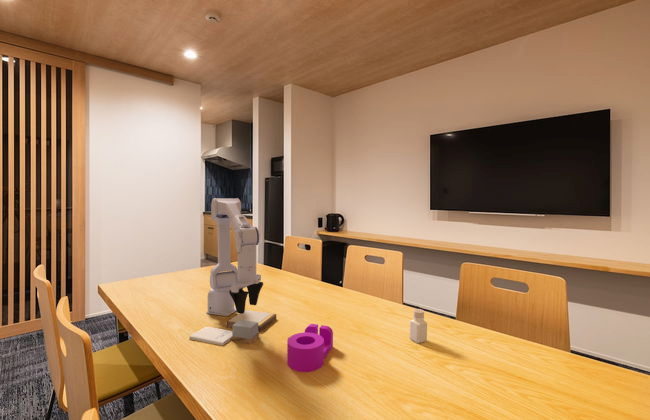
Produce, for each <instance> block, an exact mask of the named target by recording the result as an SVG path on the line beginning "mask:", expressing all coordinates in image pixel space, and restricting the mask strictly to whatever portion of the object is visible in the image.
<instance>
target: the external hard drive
mask: <svg viewBox="0 0 650 420" xmlns="http://www.w3.org/2000/svg"><path fill="white" fill-rule="evenodd" d="M189 340H191V341H197V342H203V343H206V344H212V345H218V346H222V347H223V346H224V345H226V344H228V343H229V342H230V341H232V330H228V329H222V328H216V327H211V326H205V327H202V328H201V329H199V330H198V331H196V332H194V333H192V334H190V335H189Z"/></svg>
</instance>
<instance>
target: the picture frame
mask: <svg viewBox="0 0 650 420" xmlns="http://www.w3.org/2000/svg"><path fill="white" fill-rule="evenodd" d="M276 319H277V314H276V313H270V312H264V311H256V310H250V309H245V311H244V313H243V314H241V313H237V315H235V316H233V317H232V318H230V319H229V320H227V321H226V324H225V326H226V328H232V325H234V324H235V323H236V322H238V321H239V320H246V321H253V322H258V333H261V332H262V331H263V330H265V329H266V328H267V327H268V326H269V325H271V324H272V323H273V322H274V321H276Z"/></svg>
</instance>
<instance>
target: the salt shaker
mask: <svg viewBox="0 0 650 420" xmlns="http://www.w3.org/2000/svg"><path fill="white" fill-rule="evenodd" d="M424 318H425V311H424V310H423V309H421V308H420V309H419V308H415V309H413V319H411V320H410V321H409V339H410V340H411V341H412V342H414V343H416V344H421V343H424V342H427V340H428V322H427V321H426V320H425V319H424Z"/></svg>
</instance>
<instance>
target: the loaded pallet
mask: <svg viewBox="0 0 650 420" xmlns="http://www.w3.org/2000/svg"><path fill="white" fill-rule="evenodd" d="M231 331H232V339H231V341H233V342H239V343H245V344H250V345H251V344H254V342H256V341H257V340H258V339H259V338H260V332H258V322H253V321H246V320H239V321H238V322H236V323H235V324H234V325H232V330H231Z"/></svg>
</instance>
